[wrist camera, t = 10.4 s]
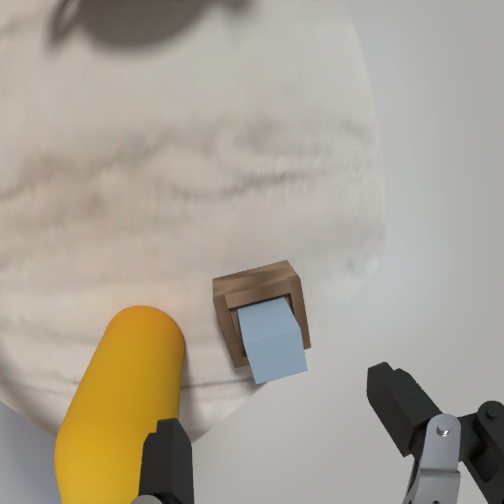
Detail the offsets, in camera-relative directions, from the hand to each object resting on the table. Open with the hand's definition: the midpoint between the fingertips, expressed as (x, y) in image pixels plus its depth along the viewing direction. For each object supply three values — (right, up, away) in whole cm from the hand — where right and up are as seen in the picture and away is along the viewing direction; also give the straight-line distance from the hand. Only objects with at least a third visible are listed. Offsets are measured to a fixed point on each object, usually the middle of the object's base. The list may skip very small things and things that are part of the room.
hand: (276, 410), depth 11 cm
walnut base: (0, +1, +22) cm, 22 cm away
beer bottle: (-13, -3, +22) cm, 26 cm away
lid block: (0, 0, +18) cm, 18 cm away
